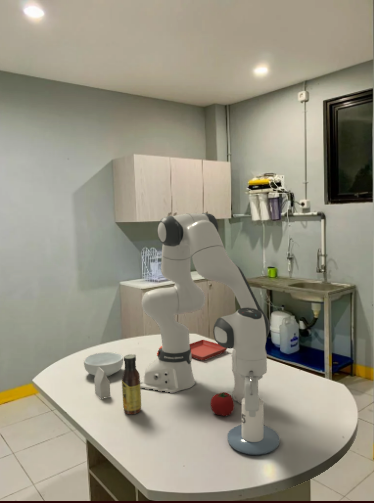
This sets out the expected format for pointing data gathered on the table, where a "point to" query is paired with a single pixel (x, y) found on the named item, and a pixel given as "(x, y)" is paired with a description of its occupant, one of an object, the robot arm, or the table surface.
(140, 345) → the table surface
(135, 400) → the sauce bottle
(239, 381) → the water bottle
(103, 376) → the small milk carton
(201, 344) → the plant saucer
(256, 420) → the candle
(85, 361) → the cereal bowl
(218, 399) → the tomato
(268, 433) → the candle dish
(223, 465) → the table surface
